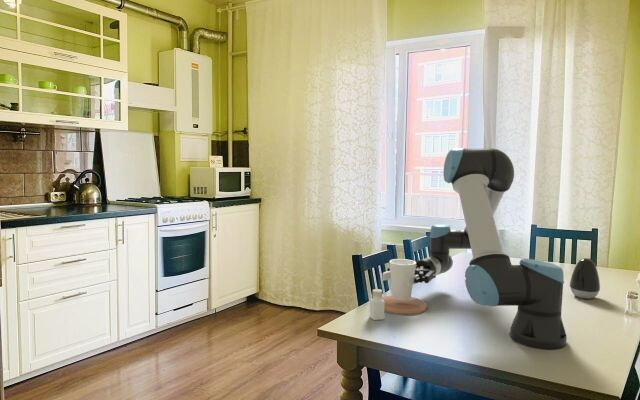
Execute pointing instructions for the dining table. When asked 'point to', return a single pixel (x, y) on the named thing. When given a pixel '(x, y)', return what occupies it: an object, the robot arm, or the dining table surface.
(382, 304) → the pepper shaker
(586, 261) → the dark grey egg shape
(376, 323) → the dining table surface
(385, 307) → the terracotta plate
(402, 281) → the foam cup
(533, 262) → the robot arm
